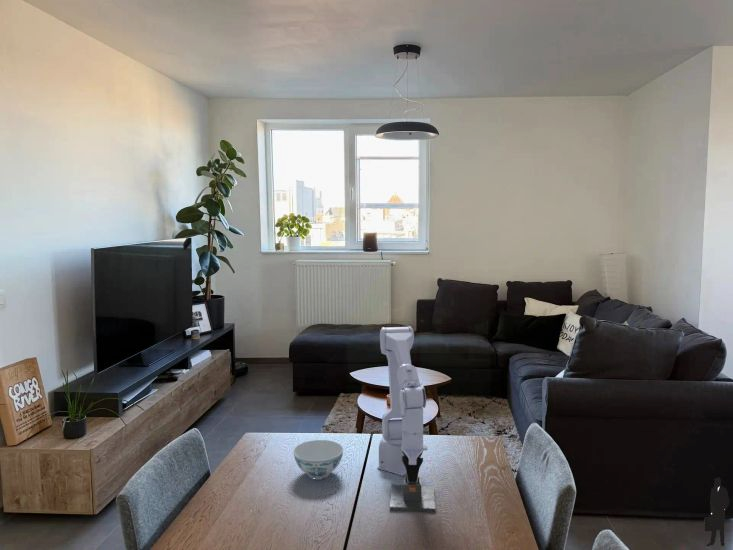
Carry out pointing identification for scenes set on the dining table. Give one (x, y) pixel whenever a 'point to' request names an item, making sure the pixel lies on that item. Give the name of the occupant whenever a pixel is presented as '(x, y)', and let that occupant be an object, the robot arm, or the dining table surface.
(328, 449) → the chinaware
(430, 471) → the dining table surface
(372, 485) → the dining table surface
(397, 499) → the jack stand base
